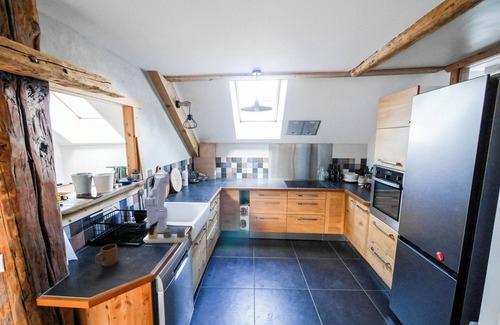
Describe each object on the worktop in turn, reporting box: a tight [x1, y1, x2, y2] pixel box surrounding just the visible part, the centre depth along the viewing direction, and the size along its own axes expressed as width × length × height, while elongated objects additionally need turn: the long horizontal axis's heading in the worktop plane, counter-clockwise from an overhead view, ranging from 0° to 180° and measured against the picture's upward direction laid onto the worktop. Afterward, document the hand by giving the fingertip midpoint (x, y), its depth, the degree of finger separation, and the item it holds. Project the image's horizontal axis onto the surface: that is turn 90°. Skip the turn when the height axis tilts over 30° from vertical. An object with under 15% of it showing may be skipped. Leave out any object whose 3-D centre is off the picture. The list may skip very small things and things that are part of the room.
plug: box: [147, 226, 158, 239], centre depth 139 cm, size 4×4×7 cm
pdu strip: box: [142, 228, 189, 244], centre depth 140 cm, size 7×28×7 cm, turn 94°
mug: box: [94, 243, 119, 267], centre depth 113 cm, size 12×8×9 cm, turn 167°
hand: (152, 233), depth 139 cm, fingers closed on plug, 3 cm apart
